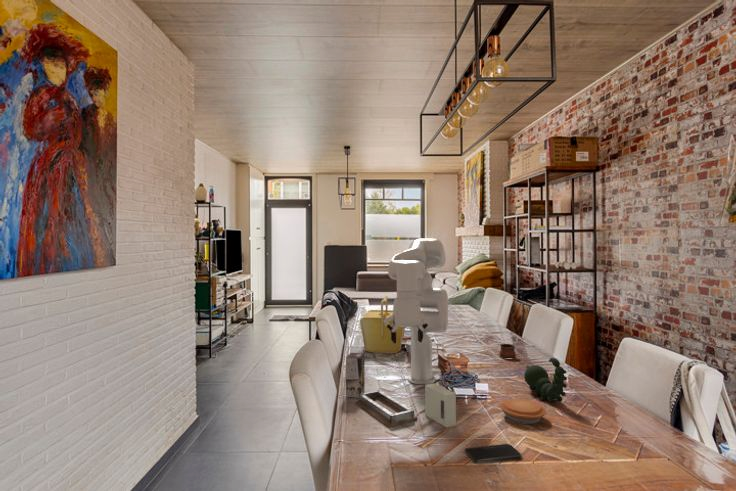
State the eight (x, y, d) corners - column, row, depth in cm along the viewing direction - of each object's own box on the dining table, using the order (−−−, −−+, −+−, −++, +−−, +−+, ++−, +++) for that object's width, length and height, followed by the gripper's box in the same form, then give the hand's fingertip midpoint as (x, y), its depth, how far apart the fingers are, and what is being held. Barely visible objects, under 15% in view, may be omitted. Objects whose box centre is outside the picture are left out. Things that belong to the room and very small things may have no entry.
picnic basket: (366, 341, 268) (366, 294, 268) (407, 342, 265) (407, 295, 265) (359, 353, 239) (359, 300, 239) (404, 354, 236) (404, 301, 236)
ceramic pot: (528, 356, 232) (528, 343, 232) (520, 364, 217) (520, 350, 217) (495, 352, 242) (495, 340, 242) (486, 360, 227) (485, 347, 227)
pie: (490, 413, 154) (490, 399, 154) (523, 406, 160) (523, 393, 160) (521, 430, 140) (521, 415, 140) (555, 422, 146) (555, 408, 146)
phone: (523, 456, 121) (474, 461, 119) (523, 460, 121) (474, 465, 119) (509, 443, 129) (463, 447, 126) (509, 447, 129) (463, 451, 126)
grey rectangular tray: (382, 398, 169) (382, 389, 169) (417, 419, 148) (417, 409, 148) (355, 403, 164) (355, 394, 164) (388, 427, 143) (388, 416, 143)
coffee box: (360, 398, 170) (360, 358, 170) (345, 397, 171) (345, 357, 171) (365, 390, 179) (365, 352, 178) (350, 389, 180) (350, 351, 180)
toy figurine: (571, 410, 160) (535, 383, 185) (574, 362, 158) (537, 341, 183) (549, 412, 159) (515, 384, 183) (551, 364, 157) (517, 342, 181)
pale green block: (433, 412, 155) (433, 383, 155) (455, 425, 144) (455, 393, 144) (424, 415, 152) (424, 385, 152) (445, 427, 142) (445, 395, 142)
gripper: (426, 293, 159) (426, 339, 159) (381, 294, 156) (381, 340, 156) (432, 296, 152) (432, 343, 151) (386, 297, 149) (386, 345, 149)
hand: (407, 342), depth 154 cm, fingers open, 9 cm apart
